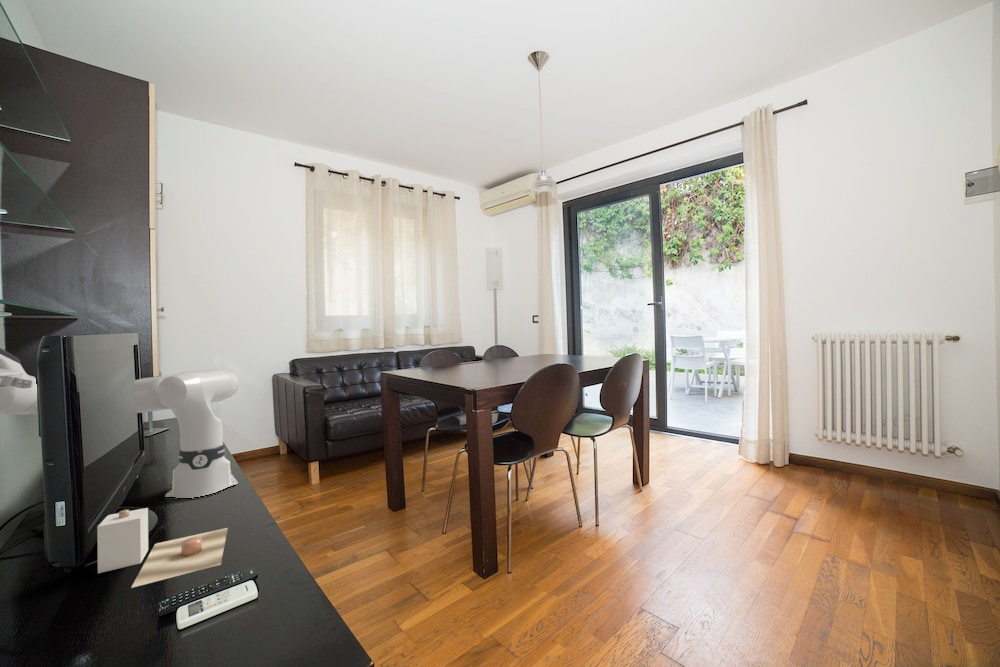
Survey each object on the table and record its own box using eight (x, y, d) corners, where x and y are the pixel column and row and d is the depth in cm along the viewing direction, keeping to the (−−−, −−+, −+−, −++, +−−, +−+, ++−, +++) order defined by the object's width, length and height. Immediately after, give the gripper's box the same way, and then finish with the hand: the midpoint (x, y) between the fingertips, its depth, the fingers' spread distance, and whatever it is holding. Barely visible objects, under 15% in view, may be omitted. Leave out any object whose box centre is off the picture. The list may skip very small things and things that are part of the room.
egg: (182, 551, 89) (182, 539, 89) (202, 546, 90) (202, 535, 90) (180, 558, 85) (179, 546, 86) (200, 553, 87) (200, 541, 87)
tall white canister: (108, 561, 86) (108, 509, 86) (148, 552, 90) (147, 502, 90) (97, 576, 81) (97, 520, 81) (140, 565, 84) (140, 512, 84)
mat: (155, 546, 92) (155, 543, 92) (227, 530, 100) (227, 527, 100) (130, 591, 75) (130, 587, 75) (220, 567, 82) (220, 564, 82)
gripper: (-31, 386, 89) (47, 395, 93) (-146, 396, 70) (-42, 408, 74) (-22, 358, 90) (54, 369, 94) (-134, 361, 70) (-32, 374, 74)
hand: (11, 386), depth 83 cm, fingers open, 8 cm apart
